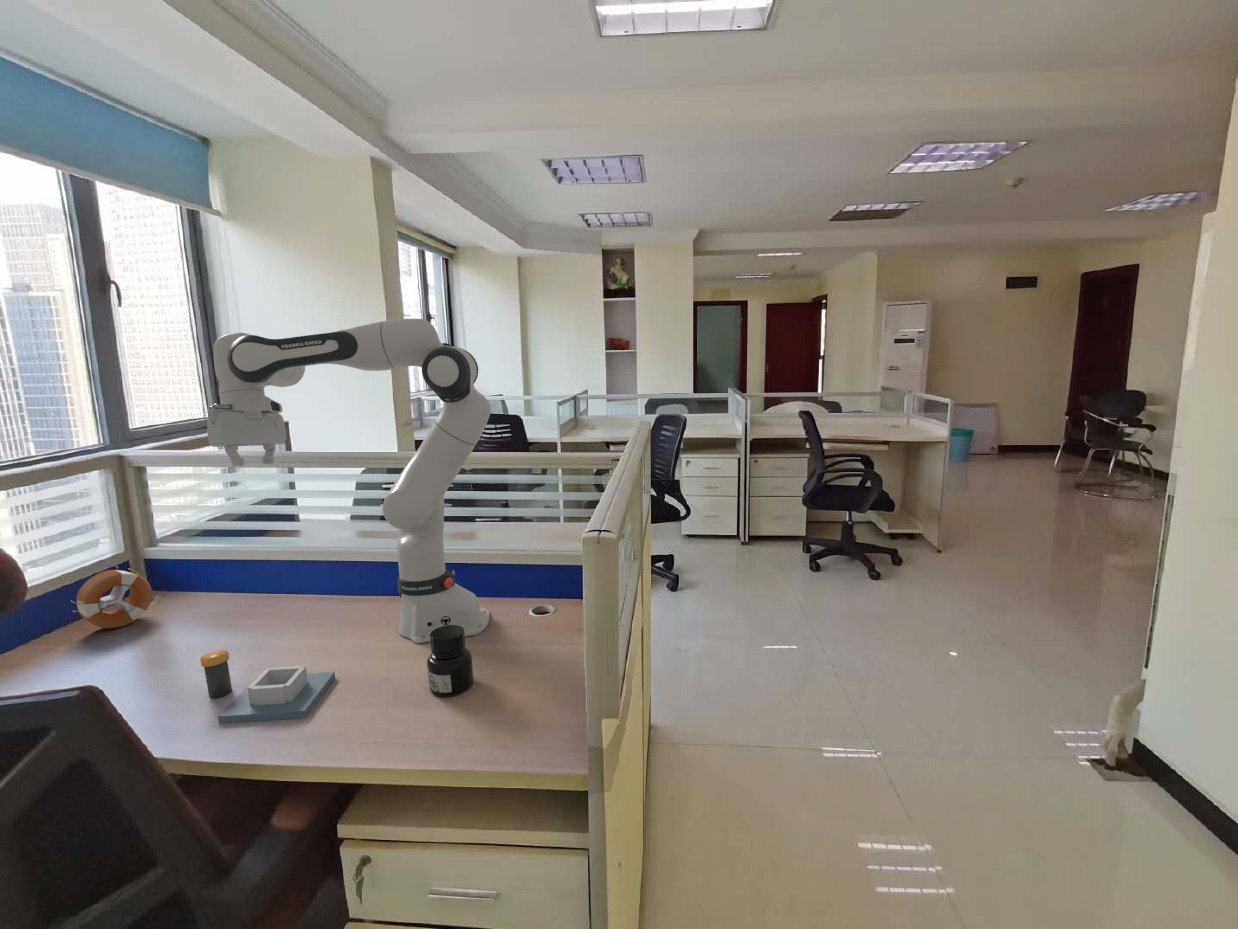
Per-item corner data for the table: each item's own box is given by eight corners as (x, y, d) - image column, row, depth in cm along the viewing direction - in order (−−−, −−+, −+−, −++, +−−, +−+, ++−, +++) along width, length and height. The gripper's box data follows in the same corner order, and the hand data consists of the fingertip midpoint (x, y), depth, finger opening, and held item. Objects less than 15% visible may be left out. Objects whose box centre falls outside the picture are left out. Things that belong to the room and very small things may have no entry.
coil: (157, 616, 160) (148, 565, 157) (87, 639, 148) (75, 584, 145) (147, 611, 164) (137, 560, 161) (77, 633, 151) (65, 579, 149)
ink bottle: (422, 683, 123) (417, 630, 121) (462, 669, 128) (458, 618, 126) (439, 704, 115) (434, 648, 113) (481, 688, 120) (477, 634, 118)
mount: (335, 678, 126) (332, 656, 125) (305, 717, 112) (302, 694, 111) (258, 683, 125) (254, 661, 124) (218, 723, 111) (214, 699, 110)
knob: (239, 686, 124) (233, 649, 122) (225, 699, 119) (219, 660, 118) (215, 687, 124) (209, 650, 122) (201, 700, 119) (194, 662, 117)
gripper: (220, 401, 124) (231, 465, 124) (286, 405, 144) (295, 461, 144) (193, 405, 125) (204, 469, 125) (263, 409, 145) (272, 464, 145)
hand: (254, 464), depth 135 cm, fingers open, 8 cm apart
